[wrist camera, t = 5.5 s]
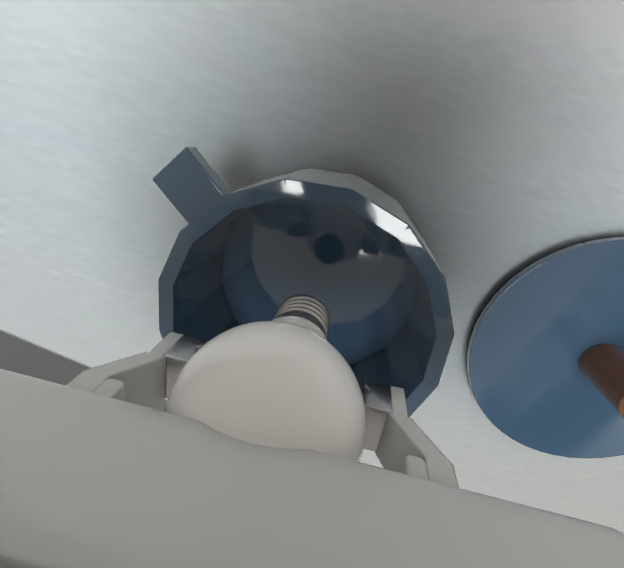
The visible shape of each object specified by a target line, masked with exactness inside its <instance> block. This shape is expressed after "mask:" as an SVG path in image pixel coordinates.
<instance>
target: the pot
mask: <svg viewBox="0 0 624 568" xmlns="http://www.w3.org/2000/svg"><path fill="white" fill-rule="evenodd" d="M153 181H154V182H155V183H156V184H157V186H158V187H159V188H160V189H161V191H162V192H163V193H164V194H165V195H166V197H167V198H168V199H169V200H170V201H171V203H172V204H173V205H174V206H175V207H176V209H177V210H178V211H179V212H180V214H181V215H182V216H183V217H184V218H185V220H186V221H187V222H188V223H189V224H188V225H187V226H186V227H185V228H183V229H182V230H181V231H180V232H179V234H178V237H177V239H176V241H175V243H174V246H173V248H172V250H171V253H170V255H169V257H168V259H167V262H166V264H165V266H164V269H163V271H162V273H161V275H160V278H159V282H158V283H159V330H160V333H161V335H162V338H163V339H164V338H165V337H166V336H167V335H168V334H169V333H171V332H174V333H178V334H183V335H186V336H190V337H194V338H198V339H201V340H205V341H209V340H211V339H212V338H214V337H215V336H217V335H219V334H220V333H222V332H224V331H226V330H229V329H231V328H233V327H236V326H239V325H242V324H246V323H251V322H257V321H271V320H273V319H274V317H275V315H276V313H277V311H278V309H279V308H280V306H281V304H282V303H283V302H284V301H285V300H286V299H287V298H289V297H291V296H294V295H298V294H306V295H310V296H313V297H315V298H317V299H319V300H320V301H321V302H322V303H323V304H324V305H325V306H326V307H327V309H328V311H329V314H330V326H329V331H328V335H327V340H328V342H329V343H330V344H332V345H333V346H334V347H335V348H336V349H337V350H338V351H339V352H340V354H341V355H342V356H343V357H344V359H345V360H346V361H347V363H348V364H349V366H350V367H351V369H352V371H353V373H354V374H355V376H356V379H357V381H358V383H359V386H360V389H361V388H362V385H363V382H364V380H367V381H371V382H375V383H379V384H384V385H388V386H394V387H399V388H403V389H404V392H405V400H406V407H407V414H408V418H409V417H410V416H411V414H412V413H413V412H414V411H415V410H416V409H417V408H418V407H419V406H420V405H421V404H422V403H423V401H424V400H425V399H426V398H427V397H428V396H429V395H430V394H431V393H432V392H433V391H434V390H435V388H436V387H437V385H438V384H439V381H440V377H441V374H442V371H443V368H444V365H445V362H446V359H447V355H448V352H449V349H450V346H451V343H452V340H453V337H454V330H453V324H452V317H451V310H450V304H449V297H448V290H447V284H446V278H445V277H444V274H443V272H442V271H441V269H440V267H439V265H438V264H437V262H436V260H435V258H434V257H433V255H432V253H431V251H430V250H429V248H428V246H427V244H426V243H425V241H424V239H423V238H422V236H421V235H420V233H419V232H418V230H417V229H416V227H415V226H414V224H413V223H412V221H411V220H410V218H409V217H408V215H407V214H406V212H405V211H404V209H403V208H402V206H401V205H400V203H399V202H398V201H397V200H396V199H394V198H392V197H391V196H389V195H388V194H386V193H384V192H383V191H381V190H380V189H379V188H377V187H375V186H374V185H372V184H370V183H369V182H367V181H365V180H364V179H362V178H361V177H359V176H357V175H353V174H346V173H340V172H335V171H327V170H320V169H314V168H306V169H303V170H299V171H295V172H291V173H287V174H284V175H280V176H277V177H273V178H269V179H265V180H262V181H260V182H257V183H254V184H251V185H249V186H246V187H243V188H240V189H238V190H235V191H232V192H230V191H229V190H228V188H227V187H226V186H225V184H224V183H223V182H222V181H221V179H220V178H219V177H218V175H217V174H216V173H215V172H214V170H213V169H212V168H211V167H210V165H209V164H208V163H207V161H206V160H205V159H204V158H203V156H202V155H201V154H200V152H199V151H198V150H197V149H196V148H195V147H186V148H185V149H183V150H182V151H181V152H180V153H179V154H178V155H177V156H176V157H175V158H174V159H173V160H172V161H171V162H170V163H169V164H168V165H167V166H166V167H164V168H163V169H162V170H161V171H160V172H159V173H158V174H157V175H156V176H155V177H154V178H153Z"/></svg>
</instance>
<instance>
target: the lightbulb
mask: <svg viewBox="0 0 624 568" xmlns="http://www.w3.org/2000/svg"><path fill="white" fill-rule="evenodd" d="M329 326H330V314H329V311H328V309H327V307H326V306H325V305H324V304H323V303H322V302H321V301H320V300H319V299H317V298H315V297H313V296H310V295H306V294H298V295H294V296H291V297H289V298H287V299H286V300H285V301H284V302H283V303H282V304H281V306H280V308H279V309H278V311H277V313H276V315H275V317H274V319H273V320H271V321H257V322H251V323H246V324H242V325H239V326H236V327H233V328H231V329H229V330H226V331H224V332H222V333H220V334H219V335H217V336H215V337H214V338H212V339H211V340H209V341H208V342H207V343H205V344H204V345H203V346H202V347H201V348H200V349H199V350H198V351H196V352H195V353H194V355H193V356H192V357H191V358H190V359H189V360H188V361H187V363H186V364H185V365H184V367H183V368H182V370H181V371H180V373H179V374H178V376H177V378H176V380H175V382H174V384H173V386H172V388H171V391H170V394H169V396H168V399H167V403H166V407H165V412H168V413H172V414H176V415H180V416H184V417H188V418H191V419H195V420H198V421H200V422H202V423H204V424H206V425H208V426H209V427H211V428H213V429H215V430H216V431H219V432H221V433H223V434H225V435H227V436H230V437H233V438H235V439H238V440H242V441H245V442H248V443H253V444H257V445H262V446H268V447H275V448H288V449H309V450H315V451H318V452H322V453H326V454H330V455H334V456H338V457H341V458H345V459H349V460H353V461H357V462H360V460H361V457H362V453H363V449H364V444H365V437H366V411H365V404H364V400H363V396H362V392H361V389H360V386H359V383H358V381H357V379H356V376H355V374H354V373H353V371H352V369H351V367H350V366H349V364H348V363H347V361H346V360H345V359H344V357H343V356H342V355H341V354H340V352H339V351H338V350H337V349H336V348H335V347H334V346H333V345H332V344H330V343H329V342H328V340H327V335H328V331H329Z"/></svg>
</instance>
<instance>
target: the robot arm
mask: <svg viewBox="0 0 624 568" xmlns="http://www.w3.org/2000/svg"><path fill="white" fill-rule="evenodd" d="M207 342H208V341H205V340H201V339H198V338H194V337H190V336H186V335H183V334H178V333H174V332H171V333H169V334H168V335H167V336H166V337H165V338H164V339H163V340H162V341H161V342H160V343H159V344H158V345H157V346H156V347H155V348H154V349H153V350H152V351H151V352H149V353H148V352H144V353H141V354H137V355H134V356H131V357H127V358H124V359H121V360H117V361H114V362H111V363H107V364H104V365H101V366H97V367H94V368H91V369H88V370H84V371H83V372H82V373H81V374H79V375H78V376H77V377H76V378H75V379H73V380H72V381H71V382H70V383H68V384H67V385H66V386H65V385H61V384H57V383H53V382H49V381H45V380H41V379H38V378H34V377H30V376H26V375H22V374H18V373H14V372H10V371H7V370H2V369H0V568H624V533H622V532H620V531H618V530H616V529H613V528H610V527H607V526H603V525H599V524H596V523H592V522H588V521H584V520H580V519H576V518H572V517H569V516H565V515H561V514H557V513H553V512H549V511H545V510H541V509H537V508H534V507H530V506H526V505H522V504H518V503H514V502H510V501H506V500H503V499H499V498H495V497H491V496H487V495H483V494H480V493H476V492H472V491H468V490H464V489H460V488H459V486H458V482H457V478H456V474H455V470H454V466H453V464H452V463H451V462H450V461H449V460H448V459H447V458H446V457H445V455H444V454H443V453H442V452H441V451H440V450H439V449H438V448H437V446H436V445H435V444H434V443H433V442H432V441H431V440H430V439H429V437H428V436H427V435H426V434H425V433H424V432H423V431H422V430H421V429H420V427H419V426H418V425H417V424H416V423H415V422H414V421H413V420H412V419H411V418H408V414H407V407H406V400H405V392H404V389H403V388H399V387H394V386H388V385H384V384H379V383H375V382H371V381H367V380H364V382H363V385H362V388H361V392H362V396H363V400H364V404H365V411H366V437H365V444H364V449H368V450H371V451H375V453H376V455H377V457H378V458H379V460H380V462H381V464H382V466H383V467H384V468H380V467H376V466H372V465H368V464H365V463H361V462H357V461H353V460H349V459H345V458H341V457H338V456H334V455H330V454H326V453H322V452H318V451H315V450H309V449H288V448H275V447H268V446H262V445H257V444H253V443H248V442H245V441H242V440H238V439H235V438H233V437H230V436H227V435H225V434H223V433H221V432H219V431H216V430H215V429H213V428H211V427H209V426H208V425H206V424H204V423H202V422H200V421H198V420H195V419H191V418H188V417H184V416H180V415H176V414H172V413H168V412H165V411H160V410H156V409H153V408H149V407H150V406H152V405H154V404H156V403H158V402H159V401H161V400H163V399H165V398H168V396H169V394H170V391H171V388H172V386H173V384H174V382H175V380H176V378H177V376H178V374H179V373H180V371H181V370H182V368H183V367H184V365H185V364H186V363H187V361H188V360H189V359H190V358H191V357H192V356H193V355H194V353H195V352H196V351H198V350H199V349H200V348H201V347H202V346H203V345H204V344H205V343H207Z"/></svg>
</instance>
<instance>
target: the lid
mask: <svg viewBox="0 0 624 568" xmlns="http://www.w3.org/2000/svg"><path fill="white" fill-rule="evenodd" d="M467 374H468V378H469V383H470V387H471V389H472V391H473V394H474V396H475V399H476V401H477V403H478V405H479V406H480V408H481V410H482V411H483V413H484V414H485V415H486V417H487V418H488V419H489V420H490V421H491V423H493V424H494V425H495V426H496V427H497V428H498V429H499V430H500V431H501V432H503V433H504V434H506V435H507V436H509V437H510V438H512V439H513V440H515V441H517V442H519V443H521V444H523V445H525V446H527V447H530V448H532V449H535V450H538V451H541V452H544V453H548V454H552V455H557V456H564V457H572V458H604V457H612V456H620V455H624V237H613V238H605V239H598V240H592V241H588V242H584V243H580V244H576V245H573V246H570V247H567V248H565V249H562V250H559V251H556V252H554V253H552V254H550V255H548V256H546V257H544V258H542V259H540V260H538V261H536V262H534V263H533V264H531V265H530V266H528V267H526V268H525V269H523V270H522V271H520V272H519V273H518V274H517V275H515V276H514V277H513V278H512V279H510V280H509V281H508V282H507V283H506V284H505V285H504V286H503V287H502V288H501V289H500V290H499V291H498V292H497V293H496V294H495V295H494V296H493V298H492V299H491V300H490V301H489V303H488V304H487V305H486V306H485V308H484V310H483V311H482V313H481V315H480V316H479V318H478V320H477V322H476V324H475V327H474V329H473V332H472V334H471V338H470V342H469V346H468V352H467Z"/></svg>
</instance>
